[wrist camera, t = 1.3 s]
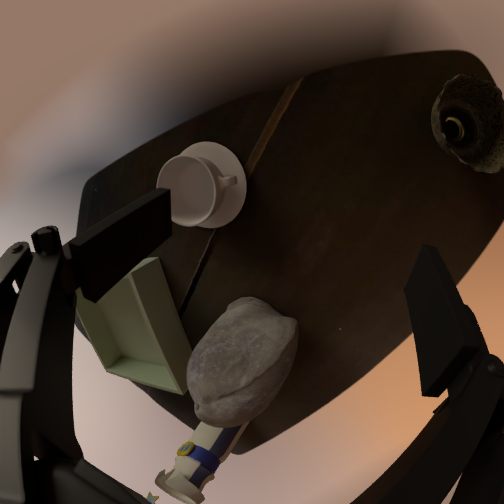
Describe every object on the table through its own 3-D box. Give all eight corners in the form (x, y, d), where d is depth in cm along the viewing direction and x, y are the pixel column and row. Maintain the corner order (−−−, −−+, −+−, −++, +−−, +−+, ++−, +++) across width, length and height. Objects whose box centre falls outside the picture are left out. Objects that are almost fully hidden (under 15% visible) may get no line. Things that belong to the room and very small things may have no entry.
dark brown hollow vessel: (436, 78, 18) (460, 54, 11) (492, 125, 17) (530, 120, 10) (404, 135, 22) (421, 128, 15) (461, 182, 21) (494, 194, 14)
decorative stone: (274, 268, 32) (209, 349, 19) (330, 332, 32) (300, 434, 19) (201, 325, 39) (135, 392, 26) (249, 374, 39) (200, 451, 26)
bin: (158, 256, 38) (130, 272, 33) (201, 372, 43) (183, 395, 38) (85, 266, 46) (62, 277, 41) (124, 356, 52) (106, 371, 47)
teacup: (183, 231, 35) (159, 242, 31) (166, 154, 32) (140, 156, 28) (256, 222, 31) (238, 233, 27) (238, 132, 28) (217, 129, 24)
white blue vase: (199, 404, 47) (124, 499, 26) (227, 396, 43) (146, 510, 21) (228, 430, 47) (164, 525, 26) (258, 424, 43) (192, 536, 22)
